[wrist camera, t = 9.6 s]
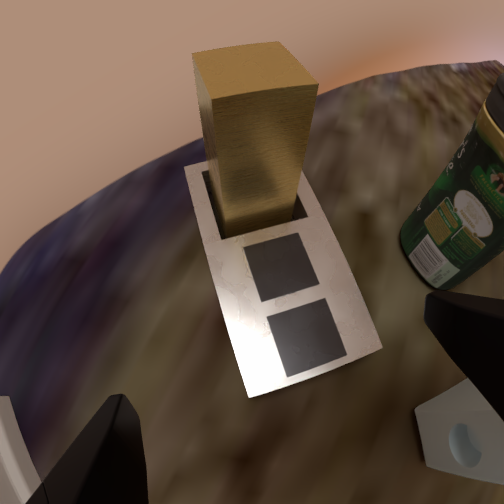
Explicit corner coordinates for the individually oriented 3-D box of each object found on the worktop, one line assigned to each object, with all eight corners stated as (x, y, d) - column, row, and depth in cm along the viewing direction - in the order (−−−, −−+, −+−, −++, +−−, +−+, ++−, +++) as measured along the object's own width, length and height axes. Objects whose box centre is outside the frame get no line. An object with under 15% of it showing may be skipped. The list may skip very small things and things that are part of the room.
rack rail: (366, 354, 21) (383, 347, 18) (249, 396, 19) (249, 398, 16) (284, 166, 28) (287, 143, 25) (189, 188, 27) (183, 166, 24)
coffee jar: (440, 195, 27) (529, 56, 10) (485, 255, 24) (603, 137, 7) (381, 234, 25) (492, 49, 8) (433, 307, 22) (604, 173, 5)
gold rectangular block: (288, 232, 25) (318, 83, 12) (228, 248, 24) (211, 99, 12) (267, 185, 27) (279, 41, 14) (213, 199, 26) (191, 53, 14)
